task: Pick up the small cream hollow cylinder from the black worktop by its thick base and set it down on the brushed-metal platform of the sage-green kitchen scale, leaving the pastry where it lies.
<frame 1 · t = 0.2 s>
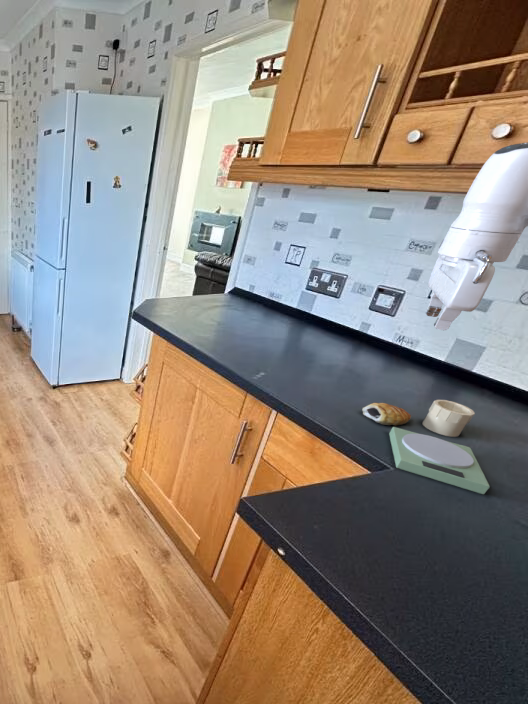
hand: (435, 321, 79), 28 cm above the counter, tool pointing down, fingers open, 8 cm apart
pastry: (382, 419, 101), on the counter
cream hollow cylinder: (440, 428, 98), on the counter
scale: (431, 461, 86), on the counter
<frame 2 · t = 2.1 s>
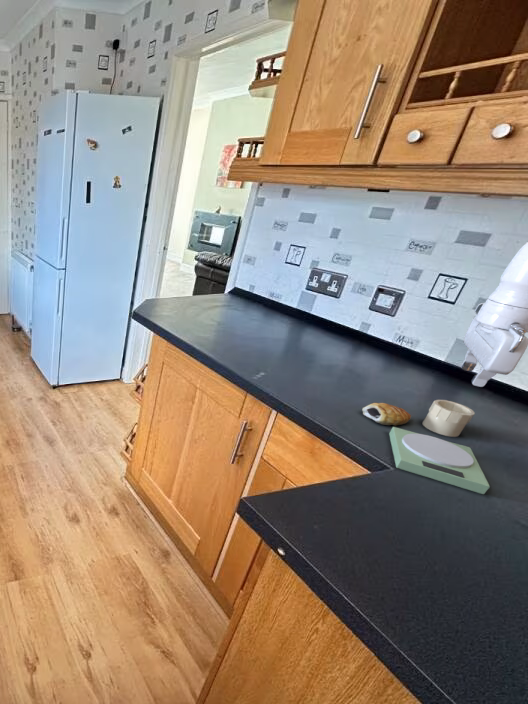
hand: (471, 376, 91), 14 cm above the counter, tool pointing down, fingers open, 8 cm apart
nothing on the counter moved.
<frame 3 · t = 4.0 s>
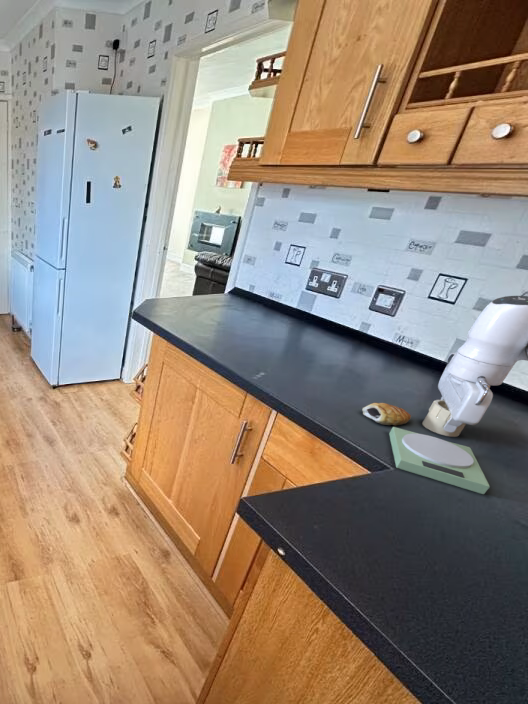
hand: (443, 422, 97), 2 cm above the counter, tool pointing down, fingers closed on cream hollow cylinder, 7 cm apart
cream hollow cylinder: (440, 428, 98), on the counter, touching gripper
everything else where it was.
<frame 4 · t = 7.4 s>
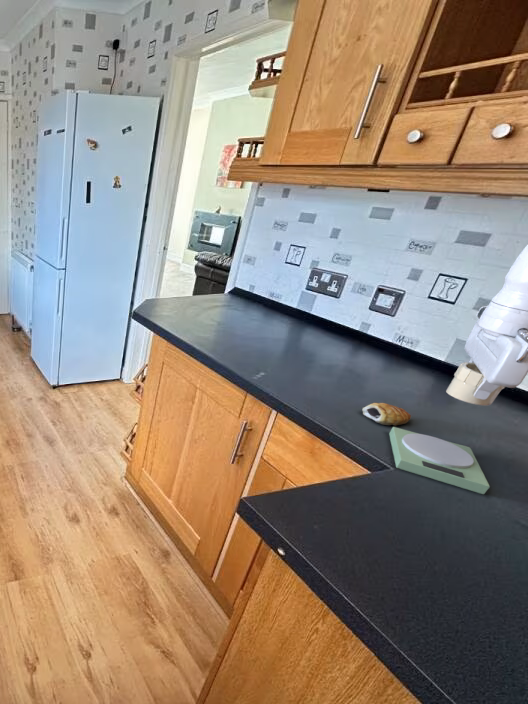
hand: (473, 389, 81), 16 cm above the counter, tool pointing down, fingers closed on cream hollow cylinder, 7 cm apart
cream hollow cylinder: (468, 397, 82), point 14 cm above the counter, touching gripper
everything else where it was.
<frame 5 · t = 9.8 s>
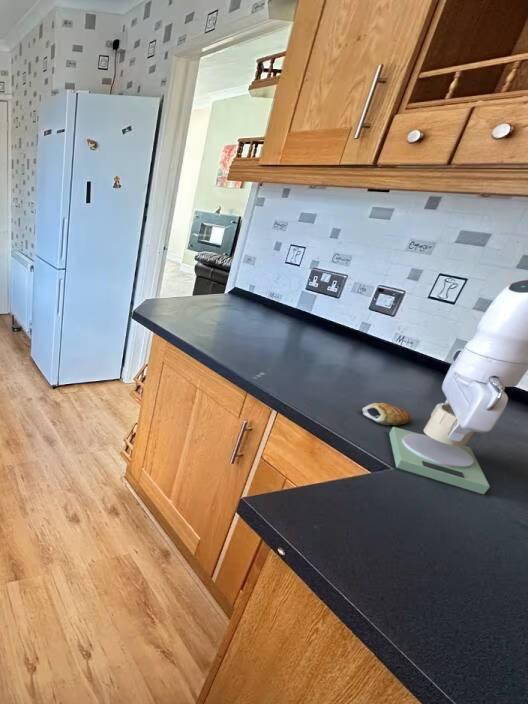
hand: (448, 429, 84), 7 cm above the counter, tool pointing down, fingers closed on cream hollow cylinder, 7 cm apart
cream hollow cylinder: (444, 436, 84), point 6 cm above the counter, touching gripper
everything else where it was.
when the fingers open (4 cm above the counter, at t = 11.4 s): cream hollow cylinder stays where it is, resting on scale.
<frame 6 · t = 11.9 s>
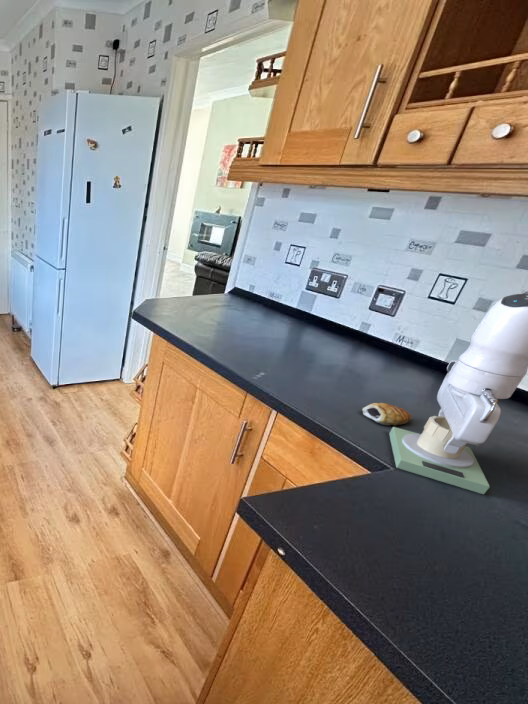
hand: (443, 439, 85), 5 cm above the counter, tool pointing down, fingers open, 8 cm apart
cream hollow cylinder: (437, 448, 86), point 3 cm above the counter, touching scale
everything else where it was.
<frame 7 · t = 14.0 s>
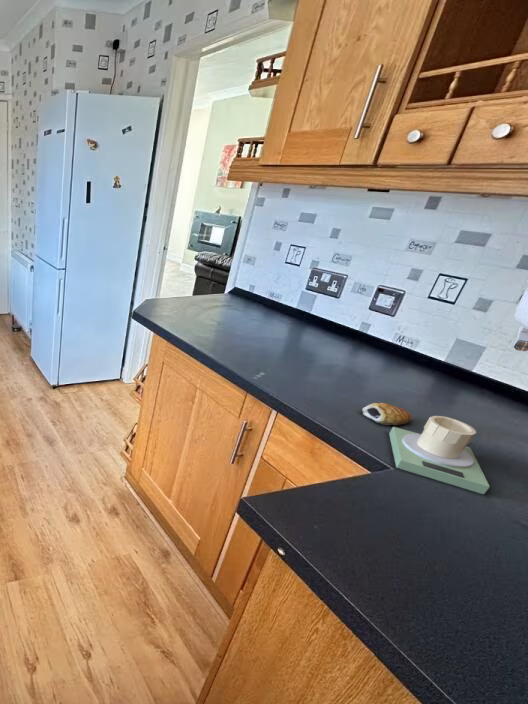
hand: (527, 357, 78), 23 cm above the counter, tool pointing down, fingers open, 8 cm apart
nothing on the counter moved.
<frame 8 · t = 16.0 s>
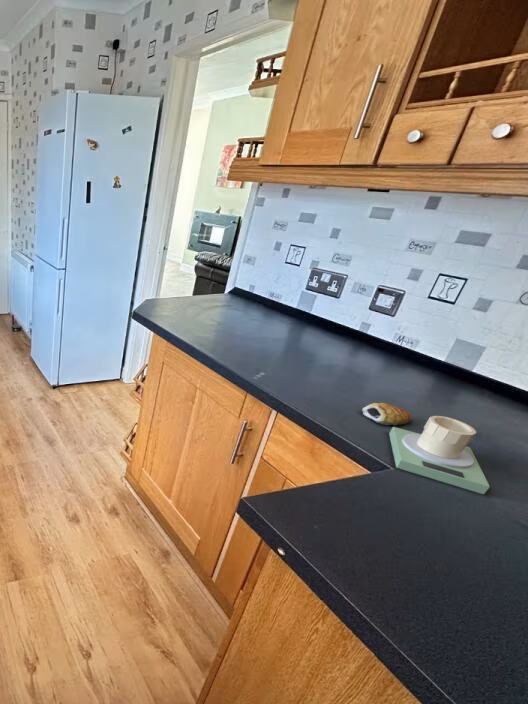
nothing on the counter moved.
at the end: cream hollow cylinder inside the target area on the scale (0.0 cm from its centre), point 2.6 cm above the scale's base; cream hollow cylinder tilted 0°; the gripper is holding nothing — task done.
